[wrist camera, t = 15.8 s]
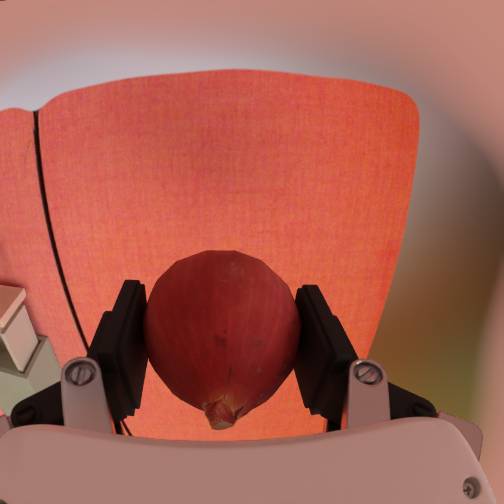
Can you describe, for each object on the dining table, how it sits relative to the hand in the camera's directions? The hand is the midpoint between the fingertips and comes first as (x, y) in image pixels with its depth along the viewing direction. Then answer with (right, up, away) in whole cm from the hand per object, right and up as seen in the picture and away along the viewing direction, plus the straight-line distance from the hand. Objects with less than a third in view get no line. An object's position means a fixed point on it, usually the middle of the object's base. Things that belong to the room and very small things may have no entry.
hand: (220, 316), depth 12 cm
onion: (0, +1, +3) cm, 3 cm away
